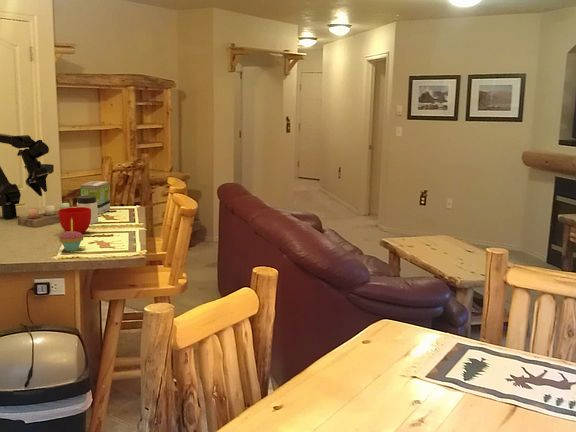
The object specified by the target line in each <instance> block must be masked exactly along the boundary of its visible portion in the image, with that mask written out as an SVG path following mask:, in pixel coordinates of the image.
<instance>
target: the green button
mask: <svg viewBox="0 0 576 432" xmlns="http://www.w3.org/2000/svg"><path fill="white" fill-rule="evenodd" d="M59 205H60V209H64V208H71V206H70V203H69V202H61V203H60V204H59Z"/></svg>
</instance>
